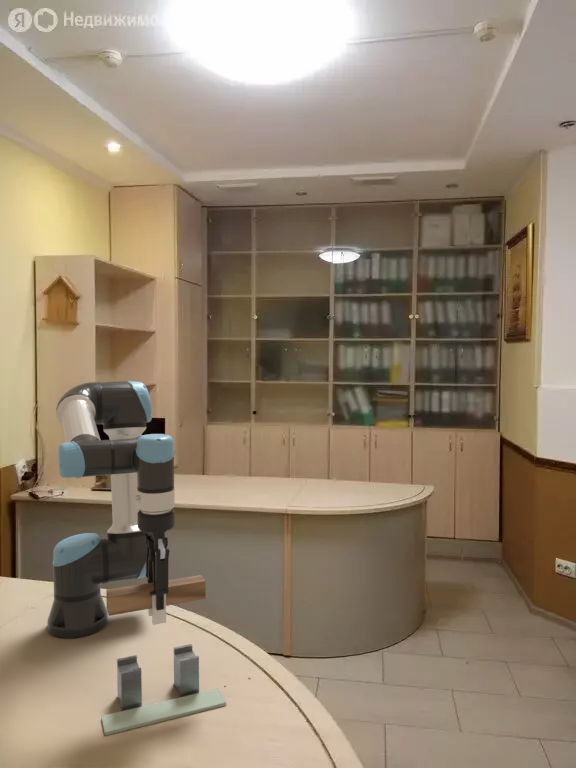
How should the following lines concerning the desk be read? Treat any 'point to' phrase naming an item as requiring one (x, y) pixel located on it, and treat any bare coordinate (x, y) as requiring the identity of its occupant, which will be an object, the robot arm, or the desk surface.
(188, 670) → the cradle posts
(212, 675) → the desk surface
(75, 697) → the desk surface
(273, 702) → the desk surface
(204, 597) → the rail
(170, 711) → the mat
